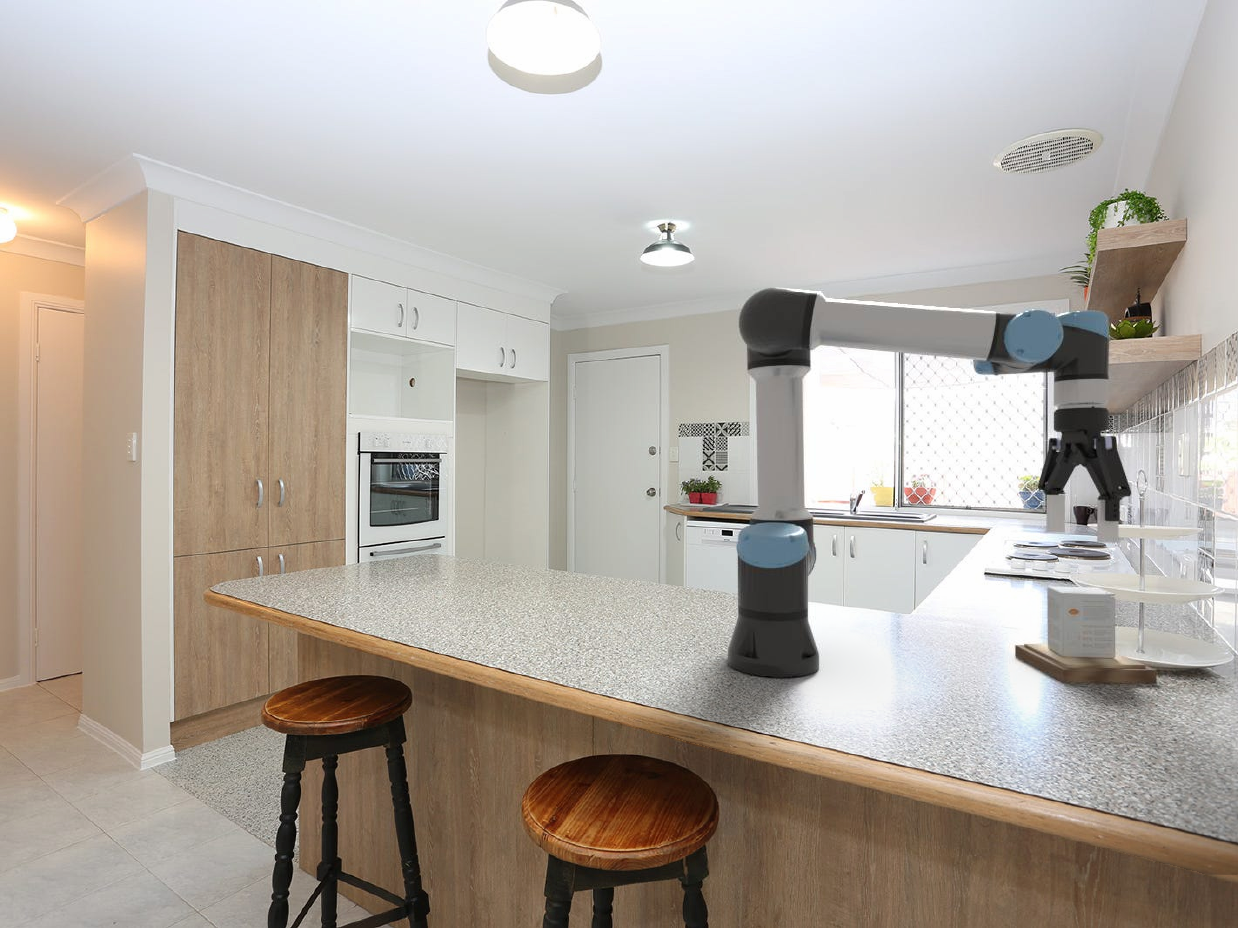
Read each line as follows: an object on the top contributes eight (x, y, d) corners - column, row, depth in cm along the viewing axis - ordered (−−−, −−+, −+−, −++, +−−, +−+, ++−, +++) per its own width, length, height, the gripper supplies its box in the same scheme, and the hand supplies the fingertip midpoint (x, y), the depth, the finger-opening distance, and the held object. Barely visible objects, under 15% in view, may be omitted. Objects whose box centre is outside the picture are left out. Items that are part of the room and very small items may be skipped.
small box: (1098, 649, 116) (1098, 586, 116) (1116, 659, 111) (1116, 593, 111) (1046, 647, 118) (1046, 585, 118) (1061, 657, 112) (1062, 592, 112)
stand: (1063, 682, 107) (1063, 666, 107) (1015, 656, 121) (1015, 642, 121) (1156, 682, 107) (1156, 666, 107) (1097, 656, 121) (1097, 642, 121)
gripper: (1160, 401, 101) (1159, 547, 101) (1058, 412, 126) (1058, 528, 126) (1108, 402, 101) (1107, 547, 102) (1016, 412, 126) (1016, 528, 127)
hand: (1080, 537), depth 114 cm, fingers open, 13 cm apart
